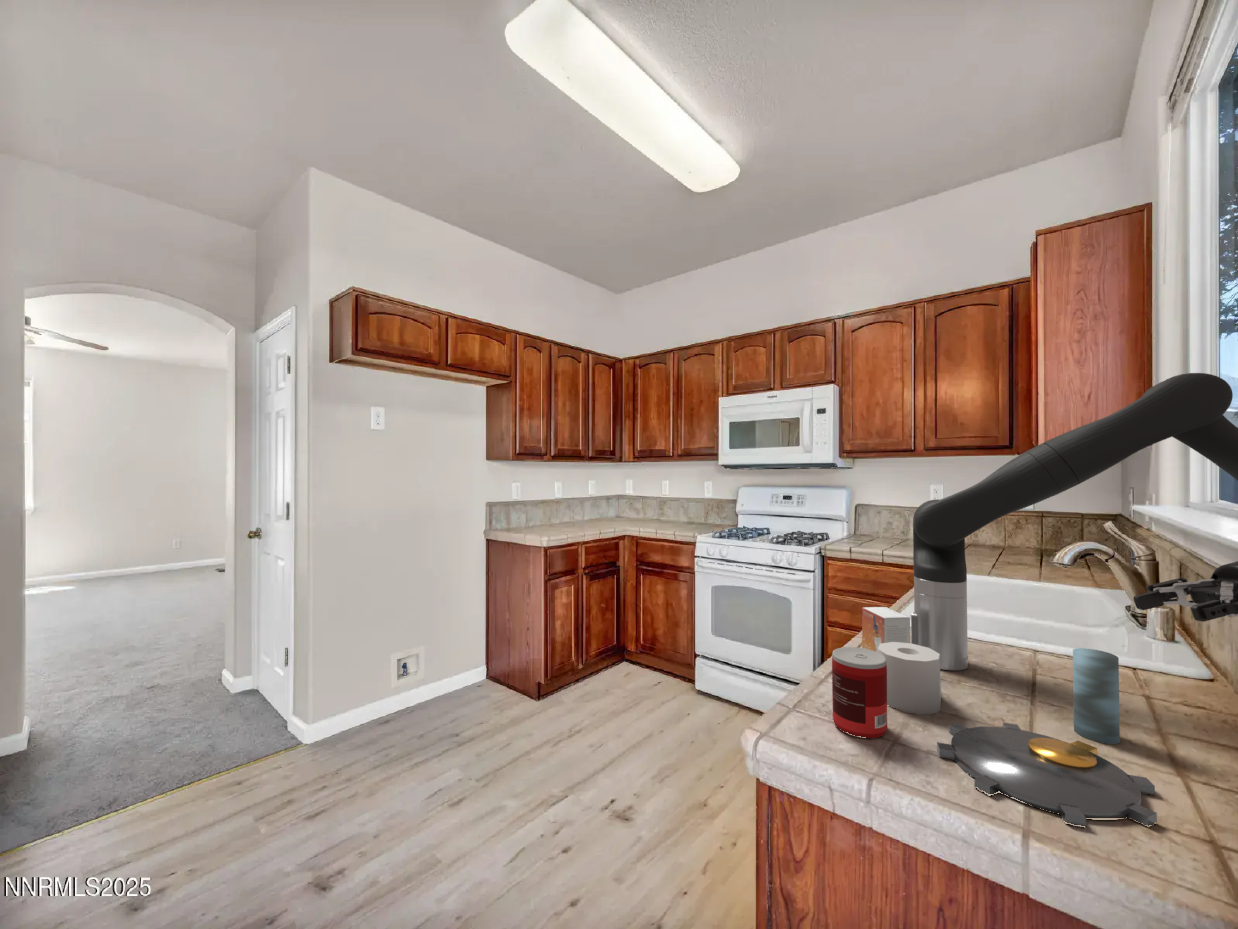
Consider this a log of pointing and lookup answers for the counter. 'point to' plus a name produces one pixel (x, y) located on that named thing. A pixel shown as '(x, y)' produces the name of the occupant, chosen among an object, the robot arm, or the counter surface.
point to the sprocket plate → (1048, 773)
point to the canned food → (859, 691)
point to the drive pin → (1096, 695)
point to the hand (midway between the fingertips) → (1164, 608)
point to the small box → (883, 627)
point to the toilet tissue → (912, 677)
